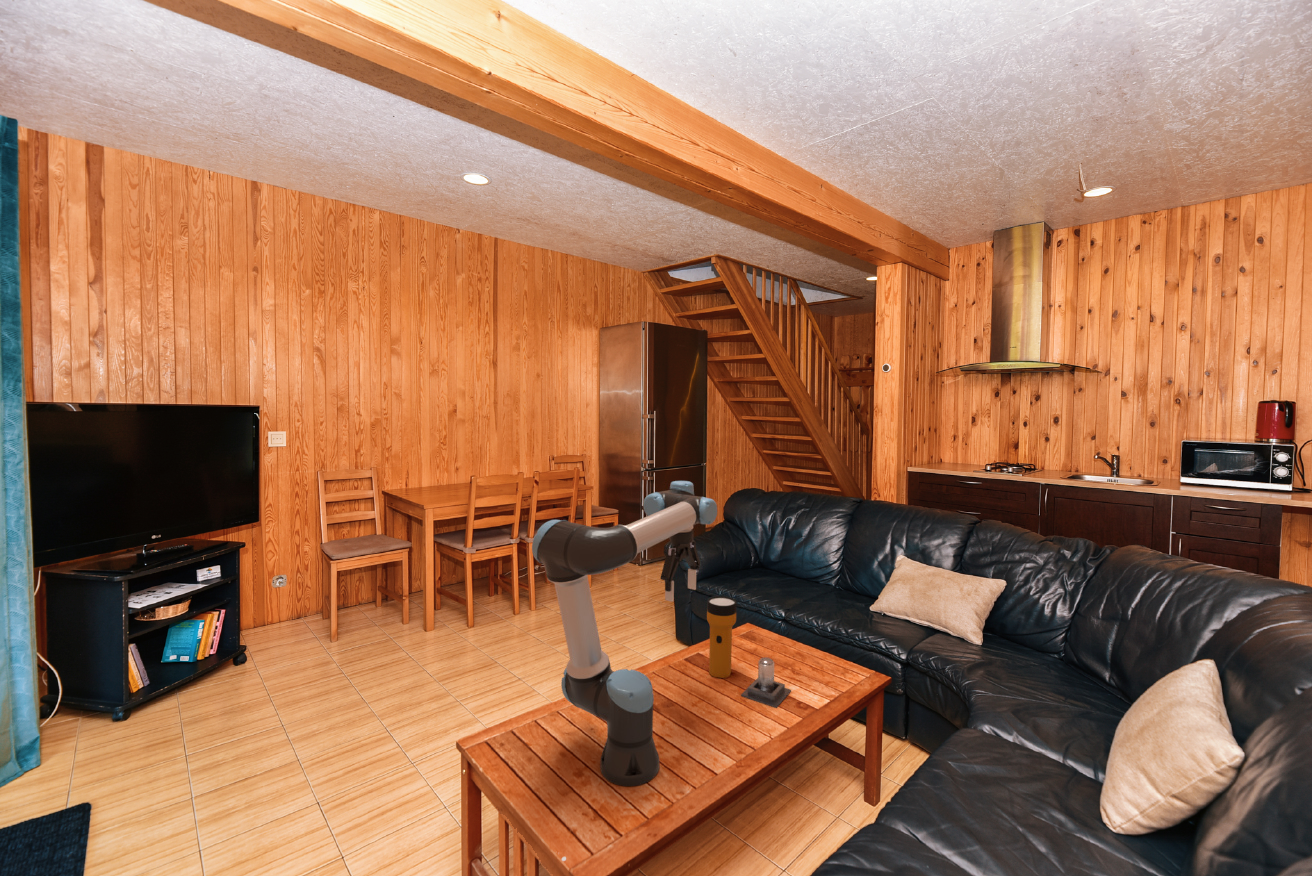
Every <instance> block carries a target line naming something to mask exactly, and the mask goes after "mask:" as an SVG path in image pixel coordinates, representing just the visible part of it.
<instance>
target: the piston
mask: <svg viewBox="0 0 1312 876" xmlns="http://www.w3.org/2000/svg"><path fill="white" fill-rule="evenodd" d="M757 662H758V665H757V666H758V668H757V670H758V673H757V675H758V677H757V678H758V689H760V690H763V691H766V692H769V693H773V692H774V681H775V661H774V660H773V659H772V658H770V657H761V658H760V659H759V660H758V661H757Z"/></svg>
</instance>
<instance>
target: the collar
mask: <svg viewBox="0 0 1312 876" xmlns="http://www.w3.org/2000/svg"><path fill="white" fill-rule="evenodd" d="M791 692H792V689H790V688H787V687H786V684H785V683H781V682H779V681H775V680H774V692H773V693H769V692H766V691H763V690H760V689H758V677H757V678H756V679H755V680H754V681H753V682H751V684H750V685H749V686H748V687H747V688H746V689H745V690H744V691H742V693H741V694H740V696H741V697H743V698H746V699H748V700H752V701H754V702H758V703H761V704H762V705H763V704H764V705H767V706H769V707H772V708H775V709H776V708H778V707H779V706H780V704H782V702H783V701H784V700H785V699H786V698H787V697H788V696H789V694H790V693H791Z"/></svg>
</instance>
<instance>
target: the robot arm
mask: <svg viewBox="0 0 1312 876" xmlns="http://www.w3.org/2000/svg"><path fill="white" fill-rule="evenodd" d="M694 490H695V489H694V483H693V482H691V481H688V480H675V481H671V482H670V486H669V489H668V490H662V491H655V492H652V493H650V494H649V493H648V495H646V497H645V498H644V499H643V510H644V513H645V515H646V516H645V517H642V518H641V519H638V520H636V521H633V522H631V523H629V524H626V525H623V524H616V525H614V526H611V527H597V526H592V525H591V526H590V525H584V524H580V523H577V522H576V523H575V522H571V521H568V520H566V519H563V520H562V519H561V520H560V519H551V520H548V521H546V522H545V523H543V524H541V526H540V527H539V528H538V530H537V531H536V534H535V535H534V537H533V539H532V545H531V550H532V551H531V552H532V555H533V557H534V559H535V560H536V561H537V562H538V563H539V564H541V565H543V567H544V570H545V575H546V578H547V581H549V582H550V583H553V584H554V588H555V589H554V590H555V592H556V598H557V603H558V607H559V613H560V616H561V622H562V627H563V631H564V636H565V642H566V647H567V651H568V656H569V660H568V661H567V663H566V666H565V669H564V671H563V673H562V674H563V677H562V678H561V691H562V695H563V697H564V699H566V700H567V701H568V702H569V703H571V704H572V705H573V706H574V707H576V708H579V709H581V710H583V711H585V712H586V713H589V714H591V715H593V716H595V717H597V718H599V719H601V720H603V721H605V722H606V725H607V726H606V728H607V730H606V732H607V735H606V736H607V737H606V741H605V743H604V747H603V750H602V751H601V752H602V753H601V757H600V764H599V765H600V767H599V768H600V772H601V775H602V777H604V779H606V781H608V782H610V783H612V784H615V785H618V786H623V787H635V786H636V787H637V786H641V785H644V784H646V783H648V782H650V781H651V780H652V779H654V778H655V777H656V776H657V774H658V773H659V770H660V755H659V752H658V751H657V748H656V745H655V741H654V737H653V732H654V731H653V730H654V729H653V728H654V723H653V722H654V721H653V720H654V691H653V683H652V681H651V679H649V677H648V676H647V675H645V674H644V672H643V673H642V672H640V671H638V670H635V669H630V670H629V669H628V668H622V669H618V670H615V671H614V670H612V667H611V662H610V658H609V657H610V656H609V655H608V654H607V653H606V652H605V651H603V650H602V646H601V639H600V634H599V630H598V625H597V620H596V614H595V608H594V603H593V597H592V593H591V588H590V587H591V586H590V582H589V578H588V577H589V576H593V575H600V574H604V573H606V572H610V571H612V570H616V569H618V568H619V567H622V566H623V567H624V565H627V564H629V563H631V562H633V561H634V560H635V559H636V557H637V555H638V554H639V553H642V552H643V551H645V550H647V549H650V548H651V547H653V546H655V545H657V544H659V543H661V542H663V541H665V540H667V539H669V541H670V542H671V543H672V548H670V547H667V548H666V554H665V555H666V556H665V560H664V562H663V567H662V572H661V573H660V580H662V581H664V591H665V592H664V601H667V602H671V603H672V602H674V601H675V600H674V599H675V597H674V595H675V594H674V593H675V581H674V580H673V579H674V576H675V574H676V572H677V569H678V566H679V564H680V563H681V562H682V560H685V562H686V564H687V565H688V567H689V568H687V569H688V570H687V589H690V590H693V591H696V590H697V570H700V568H701V567H700V566H701V561H700V558H699V553H698V551H697V545H696V544H697V542H696V541H695V540H694V530H693V529H694V526H696V525H697V524H701V525H711V524H713V523H714V522H715V521H716V519H717V516H718V505H717V503H716V501H715V500H714V499H712V498H710V497H704V496H697V495H695V491H694Z"/></svg>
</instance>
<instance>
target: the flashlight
mask: <svg viewBox="0 0 1312 876" xmlns="http://www.w3.org/2000/svg"><path fill="white" fill-rule="evenodd" d="M706 601H707V602H706V605H707V606H706V620H707V623H708V624H709V656H708V657H709V658H708V659H709V660H708V661H709V663H708V671H709V672H708V673H709V675H711V677H715V678H722V679H727V678H729V677H730V676H731V672H732V647H733V646H732V645H733V644H732V642H733V641H732V640H733V626H735V624H736V622H737V600H736V599H735V598H732V597H729V596H725V595H715V596H711V597H709V598H707V600H706Z"/></svg>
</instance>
